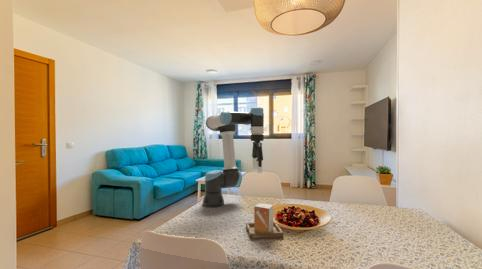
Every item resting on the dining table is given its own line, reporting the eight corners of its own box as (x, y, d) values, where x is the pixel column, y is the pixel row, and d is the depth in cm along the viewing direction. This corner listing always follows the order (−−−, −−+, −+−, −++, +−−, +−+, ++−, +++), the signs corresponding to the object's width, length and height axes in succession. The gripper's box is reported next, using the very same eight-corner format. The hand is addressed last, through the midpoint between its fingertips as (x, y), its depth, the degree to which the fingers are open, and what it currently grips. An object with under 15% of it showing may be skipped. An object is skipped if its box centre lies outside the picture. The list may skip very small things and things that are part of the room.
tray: (246, 227, 124) (246, 223, 124) (275, 226, 126) (275, 221, 126) (250, 239, 110) (250, 234, 110) (283, 237, 112) (283, 232, 112)
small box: (254, 231, 116) (254, 206, 116) (259, 227, 122) (259, 202, 122) (269, 235, 113) (269, 208, 113) (273, 230, 118) (273, 204, 118)
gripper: (247, 134, 146) (247, 167, 146) (254, 134, 121) (254, 174, 122) (259, 134, 147) (259, 167, 147) (268, 134, 122) (268, 174, 123)
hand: (257, 170), depth 134 cm, fingers open, 13 cm apart
